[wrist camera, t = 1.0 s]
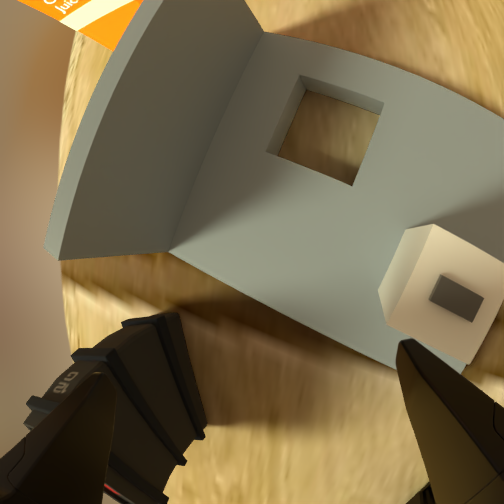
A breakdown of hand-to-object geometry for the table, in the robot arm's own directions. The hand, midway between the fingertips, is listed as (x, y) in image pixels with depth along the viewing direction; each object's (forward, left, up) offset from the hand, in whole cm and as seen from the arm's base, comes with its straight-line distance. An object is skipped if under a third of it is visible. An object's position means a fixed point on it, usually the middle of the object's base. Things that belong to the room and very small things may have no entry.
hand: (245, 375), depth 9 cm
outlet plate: (+1, -7, -14) cm, 16 cm away
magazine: (+7, +13, -14) cm, 20 cm away
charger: (-5, -4, -12) cm, 14 cm away
